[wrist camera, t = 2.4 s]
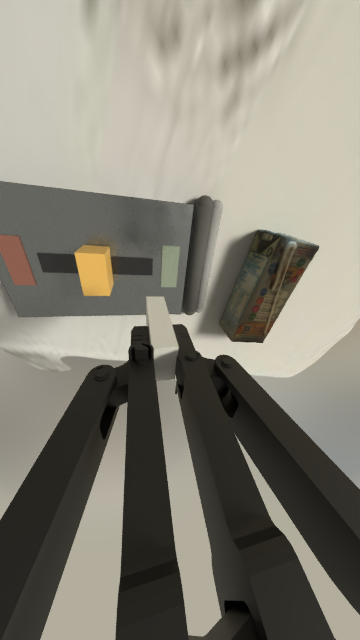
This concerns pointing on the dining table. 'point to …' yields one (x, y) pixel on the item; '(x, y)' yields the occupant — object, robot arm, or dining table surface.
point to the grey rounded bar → (201, 252)
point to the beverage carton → (265, 285)
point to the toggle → (95, 270)
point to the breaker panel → (98, 230)
